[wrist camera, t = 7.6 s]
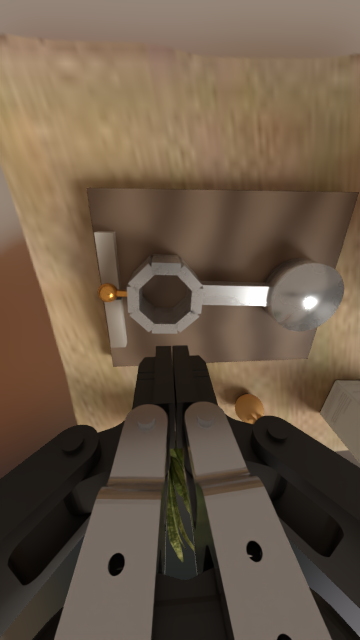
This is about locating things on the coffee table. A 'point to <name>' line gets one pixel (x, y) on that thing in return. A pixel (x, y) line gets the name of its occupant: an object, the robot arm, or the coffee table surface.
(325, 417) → the supplement box
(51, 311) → the coffee table surface
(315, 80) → the coffee table surface
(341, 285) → the baby rattle
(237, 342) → the stand base
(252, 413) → the figurine
